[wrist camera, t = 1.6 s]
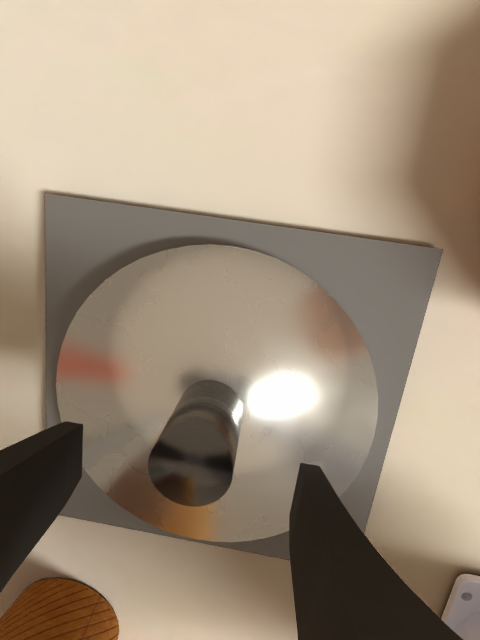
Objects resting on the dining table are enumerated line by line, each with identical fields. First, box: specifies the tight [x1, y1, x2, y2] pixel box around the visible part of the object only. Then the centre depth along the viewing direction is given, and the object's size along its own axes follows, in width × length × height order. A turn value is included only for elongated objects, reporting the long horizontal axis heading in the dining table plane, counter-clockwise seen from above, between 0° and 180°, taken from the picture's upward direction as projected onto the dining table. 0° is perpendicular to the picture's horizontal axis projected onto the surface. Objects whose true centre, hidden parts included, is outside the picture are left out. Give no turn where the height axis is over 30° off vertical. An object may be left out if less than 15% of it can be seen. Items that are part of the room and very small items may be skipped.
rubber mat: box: [45, 193, 443, 560], centre depth 16 cm, size 16×16×1 cm
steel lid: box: [56, 244, 378, 542], centre depth 14 cm, size 14×14×5 cm
